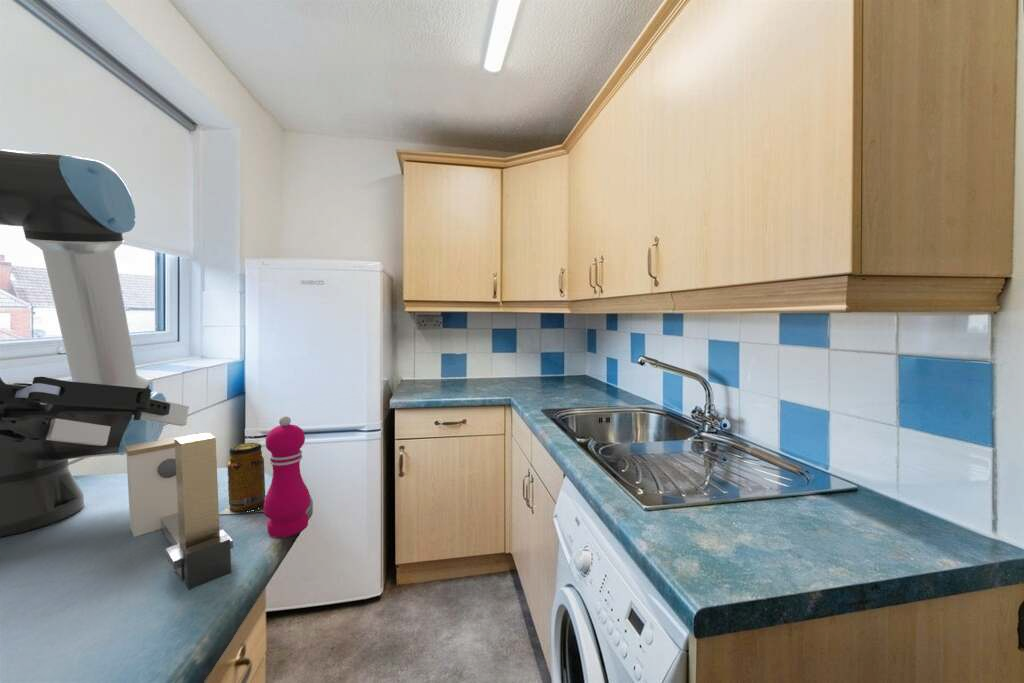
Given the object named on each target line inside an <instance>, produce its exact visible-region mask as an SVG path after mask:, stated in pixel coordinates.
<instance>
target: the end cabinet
mask: <svg viewBox="0 0 1024 683" xmlns="http://www.w3.org/2000/svg"><path fill="white" fill-rule="evenodd" d="M197 434H199V433H192V434H186V435H180V436H175V437H169V438H163V439H158V440H157V441H151V442H146V443H140V444H134V445H128V446H124V451H125V452H126V454H125V455H126V471H127V489H128V491H127V492H128V510H129V512H128V513H129V526H130V528H129V529H130V532H131V533H132V536H133V537H134V538H135V537H138V536H143V535H146V534H149V533H152V532H155V530H156V531H159V530H162V529H161V517H165V516H168V515H172V514H175V513H178V503H177V481H176V460H175V439H174V438H180V437H185V436H191V435H197Z"/></svg>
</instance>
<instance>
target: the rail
mask: <svg viewBox="0 0 1024 683" xmlns="http://www.w3.org/2000/svg"><path fill="white" fill-rule="evenodd" d="M160 530H161V531H162V532H164V533H163V535H164V536H165V537H166V539H167V540H169V541H168V542H169V543H171V544H170V545H171V546H174V545H177V544H179V524H178V513H175V514H172V515H168V516H165V517H161V529H160ZM231 556H232V555H231V549H230V539H229V538H228V537H227V536H226V535H223V536H220V537H217V538H214V539H211V540H208V541H205V542H202V543H200V544H197V545H194V546H191V547H188V548H185V549H183V560H184V585H185V587H186V589H187V590H188V591H191V590H192V589H195V588H198V587H200V586H202V585H205V584H207V583H209V582H212V581H214V580H216V579H217V580H218V579H219V578H222V577H224V576H226V575H229V574H232V557H231Z"/></svg>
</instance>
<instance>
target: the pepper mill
mask: <svg viewBox="0 0 1024 683" xmlns="http://www.w3.org/2000/svg"><path fill="white" fill-rule="evenodd" d="M291 421H292V420H291V418H290V416H287V415H284V416H281V417H280V418H279V421H278V424H279V425H278V426H275V427H274V428H271V429H270V430H269V431H268V433H267V434H266V438H265V442H264V443H265V447H266V450H268V451H269V452H270V455H269V456H268V458H269V464H270V465H272V479H271V482H270V486H269V489H268V490H267V493H266V494H265V496H266V498H265V501H264V512H263V514H264V515H265V517H267V519H269V520H268V521H267V534H268V535H269V536H270V537H272V538H277V539H278V538H286V537H292V536H294V535H298V534H299V533H301V532H303V531H304V530H305V529H307V528H308V526H309V515H308V514H309V513H307V510H308V509H309V508H310V505H311V495H310V491H309V488H308V487H307V485H306V484H305V481H304V478H302V474H301V468H300V467H301V466H300V465H301V464H300V463H301V461H302V459H303V455H302V454H303V451H302V449H301V448H302V447H303V446H304V444H305V441H306V436H305V432H304V429H302V427H300V426H299V425H295V424H292V423H291Z"/></svg>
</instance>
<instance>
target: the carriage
mask: <svg viewBox="0 0 1024 683" xmlns="http://www.w3.org/2000/svg"><path fill="white" fill-rule="evenodd" d="M196 434H197V433H196ZM190 435H191V436H186V435H184V436H185V437H180V436H179V437H180V438H174V437H173V438H174V439H175V460H176V481H177V503H178V524H179V544H177V545H174V546H172V545H171V546H169V547H166V548H165V557H166V558H167V560H168V562H169V564H170V566H171V568H172V569H173V571H175V572H176V573H177V575H178V577H179V579H180V581H182V582H183V581H184V560H183V549H185V548H188V547H191V546H194V545H197V544H200V543H202V542H205V541H208V540H211V539H214V538H217V537H220V536H223V535H226V536H227V537H228V538H229V539H230V550H232V549H234V540H233V538H231V536H229V535H228V534H227V532H226V531H225V530H224V529H220V514H219V513H220V512H219V511H220V510H219V509H220V508H219V490H218V489H219V488H218V486H219V485H218V484H219V483H218V464H217V461H218V460H217V442H216V436H214V435H213V434H211V433H209V432H204V433H198V434H197V435H192V434H190ZM184 582H185V581H184Z"/></svg>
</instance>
